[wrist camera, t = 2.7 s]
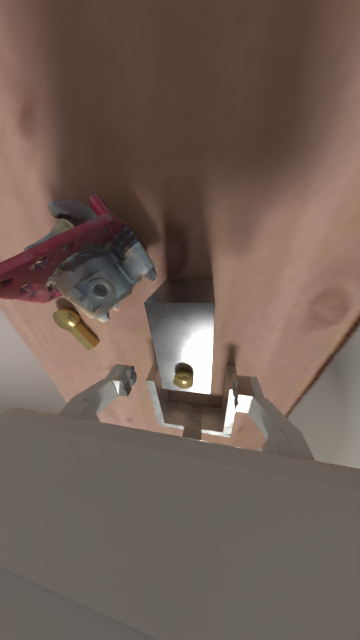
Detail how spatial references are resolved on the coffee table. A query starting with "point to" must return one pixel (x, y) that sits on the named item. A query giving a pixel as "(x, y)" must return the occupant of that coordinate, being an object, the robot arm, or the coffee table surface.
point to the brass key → (75, 326)
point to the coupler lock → (183, 332)
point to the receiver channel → (193, 408)
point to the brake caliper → (79, 261)
